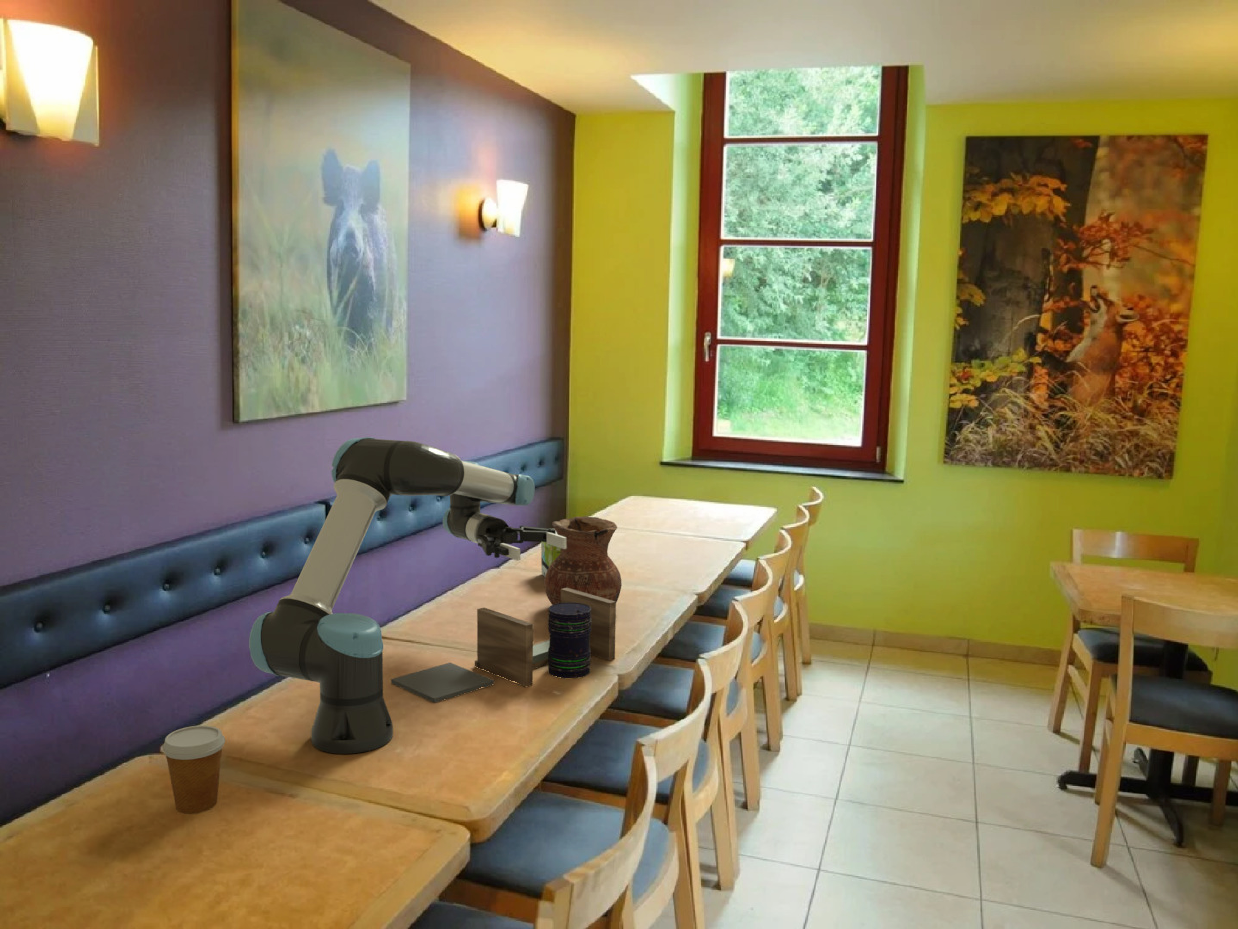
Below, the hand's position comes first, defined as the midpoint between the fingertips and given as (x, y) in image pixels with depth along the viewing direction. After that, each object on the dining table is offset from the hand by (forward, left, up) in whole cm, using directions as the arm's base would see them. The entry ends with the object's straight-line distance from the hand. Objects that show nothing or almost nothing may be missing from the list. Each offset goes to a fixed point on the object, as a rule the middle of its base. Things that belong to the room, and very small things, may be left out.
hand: (542, 548), depth 239 cm
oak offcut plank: (+1, +2, -28) cm, 28 cm away
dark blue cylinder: (+1, -8, -28) cm, 29 cm away
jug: (+37, +25, -28) cm, 53 cm away
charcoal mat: (-25, +5, -28) cm, 37 cm away
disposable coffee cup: (-88, -13, -28) cm, 93 cm away
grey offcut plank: (+2, +2, -26) cm, 27 cm away
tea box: (+56, +54, -28) cm, 83 cm away
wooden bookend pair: (+1, 0, -28) cm, 28 cm away
